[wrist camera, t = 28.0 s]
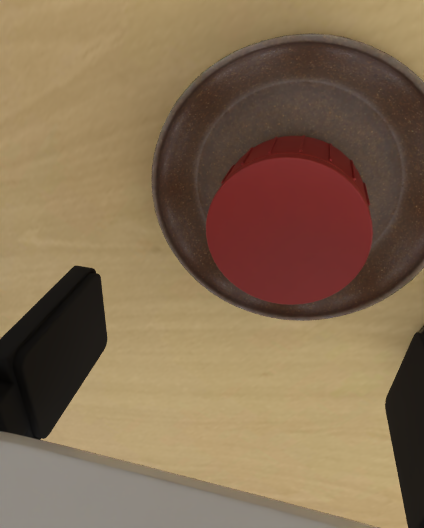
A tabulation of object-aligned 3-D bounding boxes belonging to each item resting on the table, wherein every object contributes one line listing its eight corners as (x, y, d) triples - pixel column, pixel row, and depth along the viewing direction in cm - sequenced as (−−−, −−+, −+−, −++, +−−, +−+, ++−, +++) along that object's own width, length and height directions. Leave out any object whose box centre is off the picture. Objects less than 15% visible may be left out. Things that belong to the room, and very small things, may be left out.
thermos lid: (279, 100, 17) (269, 116, 14) (401, 197, 18) (415, 231, 15) (196, 214, 21) (175, 245, 18) (300, 290, 22) (296, 330, 19)
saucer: (462, 270, 22) (477, 299, 19) (222, 313, 27) (212, 338, 25) (421, -33, 16) (436, -42, 13) (125, 103, 22) (102, 112, 19)
